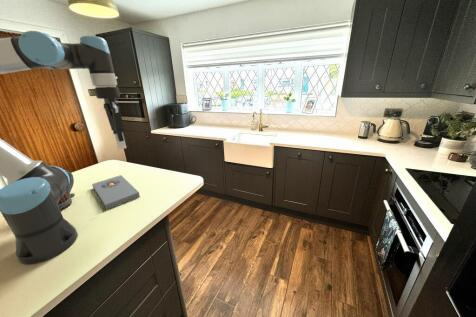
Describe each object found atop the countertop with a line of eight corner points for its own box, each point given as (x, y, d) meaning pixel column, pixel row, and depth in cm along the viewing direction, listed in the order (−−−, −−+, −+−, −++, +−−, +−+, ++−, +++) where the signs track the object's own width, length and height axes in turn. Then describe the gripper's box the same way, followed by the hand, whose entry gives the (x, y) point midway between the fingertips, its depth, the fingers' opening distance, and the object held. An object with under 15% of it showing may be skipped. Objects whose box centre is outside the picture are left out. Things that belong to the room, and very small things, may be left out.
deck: (140, 196, 95) (138, 192, 94) (106, 209, 86) (105, 204, 85) (122, 178, 114) (121, 175, 113) (93, 188, 105) (91, 184, 104)
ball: (105, 187, 100) (107, 187, 103) (111, 190, 101) (113, 190, 104) (110, 181, 101) (111, 182, 104) (116, 184, 102) (117, 185, 105)
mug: (55, 215, 83) (40, 184, 78) (35, 213, 85) (20, 182, 80) (87, 195, 98) (77, 168, 92) (70, 194, 100) (59, 167, 94)
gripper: (122, 85, 69) (138, 149, 78) (112, 86, 78) (127, 143, 87) (98, 87, 64) (117, 154, 73) (90, 87, 73) (107, 147, 82)
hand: (122, 148), depth 80 cm, fingers closed
